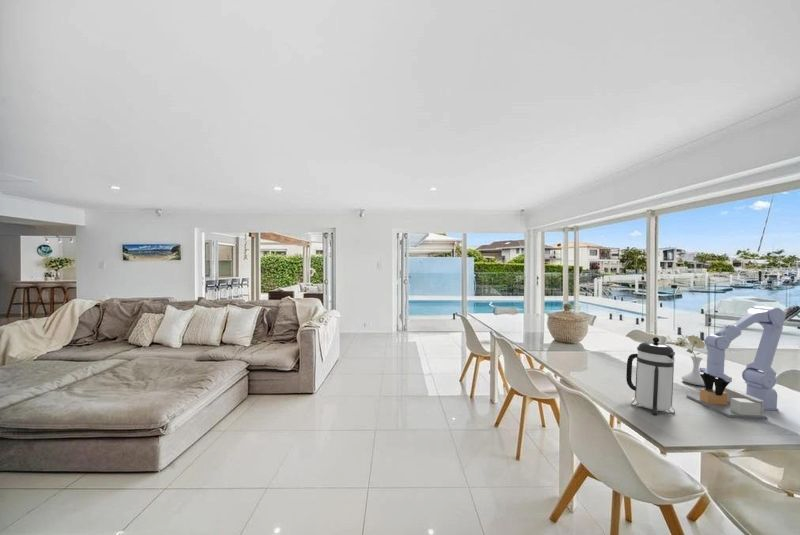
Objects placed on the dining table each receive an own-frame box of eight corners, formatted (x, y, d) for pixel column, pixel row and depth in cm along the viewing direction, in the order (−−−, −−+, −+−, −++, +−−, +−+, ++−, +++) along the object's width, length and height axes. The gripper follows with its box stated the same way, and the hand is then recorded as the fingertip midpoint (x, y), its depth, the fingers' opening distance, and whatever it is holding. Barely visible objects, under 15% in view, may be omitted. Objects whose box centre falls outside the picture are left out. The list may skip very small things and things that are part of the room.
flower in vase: (715, 388, 180) (717, 339, 180) (690, 386, 182) (692, 337, 182) (698, 380, 193) (700, 334, 193) (674, 378, 195) (677, 332, 195)
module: (718, 400, 160) (718, 389, 159) (726, 404, 155) (727, 392, 155) (699, 399, 160) (700, 388, 160) (707, 403, 155) (708, 391, 155)
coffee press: (673, 407, 151) (677, 337, 151) (676, 420, 138) (680, 342, 138) (625, 397, 161) (628, 331, 161) (623, 408, 148) (627, 336, 148)
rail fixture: (720, 399, 165) (720, 383, 165) (767, 419, 143) (768, 402, 143) (686, 397, 166) (687, 382, 166) (728, 417, 144) (729, 399, 144)
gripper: (693, 357, 165) (691, 387, 165) (720, 366, 150) (718, 398, 150) (709, 358, 164) (707, 387, 165) (737, 367, 150) (735, 399, 150)
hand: (713, 393), depth 157 cm, fingers closed on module, 4 cm apart
